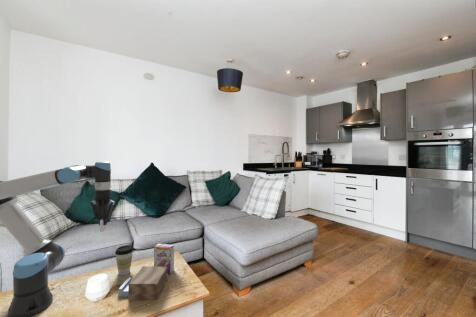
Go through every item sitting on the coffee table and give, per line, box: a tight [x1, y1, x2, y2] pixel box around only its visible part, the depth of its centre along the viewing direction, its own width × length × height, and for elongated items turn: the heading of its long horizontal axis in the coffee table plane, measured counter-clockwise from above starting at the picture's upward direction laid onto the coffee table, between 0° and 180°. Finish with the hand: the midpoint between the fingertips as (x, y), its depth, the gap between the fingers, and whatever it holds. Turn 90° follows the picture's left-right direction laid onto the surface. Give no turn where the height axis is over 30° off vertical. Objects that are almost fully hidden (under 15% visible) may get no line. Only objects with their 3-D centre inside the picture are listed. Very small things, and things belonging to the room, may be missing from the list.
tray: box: [117, 277, 132, 297], centre depth 114 cm, size 14×10×4 cm
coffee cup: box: [114, 244, 134, 276], centre depth 130 cm, size 10×10×15 cm
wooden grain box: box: [128, 265, 168, 301], centre depth 114 cm, size 14×16×8 cm
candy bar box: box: [153, 243, 175, 275], centre depth 132 cm, size 11×5×16 cm, turn 80°
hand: (102, 230), depth 120 cm, fingers closed
